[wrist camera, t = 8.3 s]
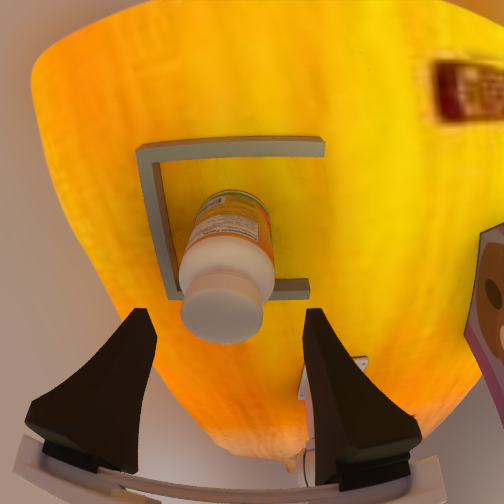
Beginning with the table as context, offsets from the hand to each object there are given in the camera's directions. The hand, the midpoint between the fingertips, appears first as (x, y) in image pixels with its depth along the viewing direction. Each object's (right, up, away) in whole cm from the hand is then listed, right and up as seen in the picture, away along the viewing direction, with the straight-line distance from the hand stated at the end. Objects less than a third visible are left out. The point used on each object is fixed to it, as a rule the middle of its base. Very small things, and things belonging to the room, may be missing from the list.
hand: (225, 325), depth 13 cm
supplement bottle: (0, +6, +9) cm, 11 cm away
